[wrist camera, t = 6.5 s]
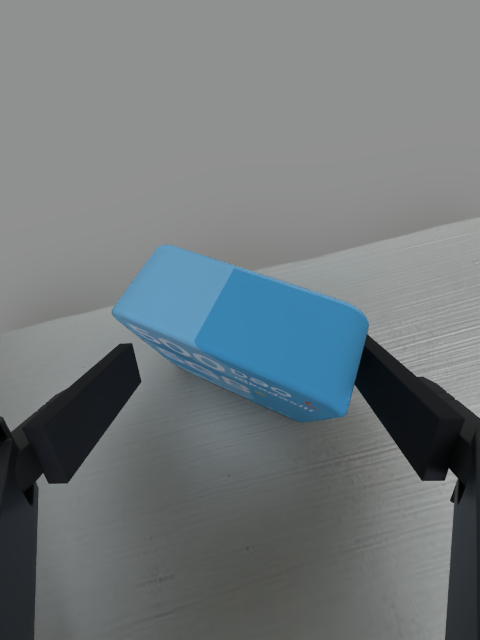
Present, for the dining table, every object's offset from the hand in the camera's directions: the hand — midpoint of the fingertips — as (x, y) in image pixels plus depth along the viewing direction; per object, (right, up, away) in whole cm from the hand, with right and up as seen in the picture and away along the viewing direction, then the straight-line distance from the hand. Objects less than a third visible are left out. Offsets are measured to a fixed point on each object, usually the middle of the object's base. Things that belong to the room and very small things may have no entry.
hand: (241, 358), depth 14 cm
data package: (0, -2, +7) cm, 8 cm away
